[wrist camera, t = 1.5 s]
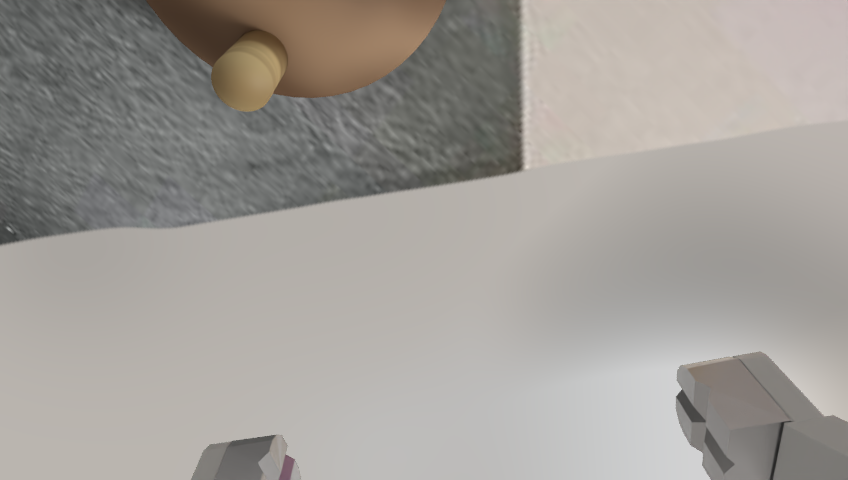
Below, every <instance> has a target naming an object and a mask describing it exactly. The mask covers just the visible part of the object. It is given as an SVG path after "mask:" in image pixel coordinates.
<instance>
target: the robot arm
mask: <svg viewBox="0 0 848 480" xmlns="http://www.w3.org/2000/svg"><path fill="white" fill-rule="evenodd" d="M677 381H678V383H679V385H680V386H681V388H682V390H681V392H680V393H679V394H678V395H677V396H676V411H677V415H678V419H679V423H680V426H681V428H682V430H683V432H684V434H685V436H686V438H687V440H688V442H689V443H690V445H691V446H693V447H695V448H696V449H698V450H699V451H701V452H703V463H702V465H703V467H704V469H705V470H706V472H707V474H708V475H709V477H710V479H711V480H848V422H847V421H844V420H842V419H840V418H838V417H836V416H834V415H832V416H824V415H823V414H822V413H821V412H820V411H819V410H818V409H817V408H816V407H815V406H814V405H813V404H812V403H811V402H810V400H808V398H807V397H806V396H805V395H804V394H803V393H802V392H801V391H800V390H799V389H798V388H797V387H796V386H795V385H794V384H793V382H792V381H791V380H790V379H789V378H788V377H787V376H786V375H785V374H784V373H783V372H782V371H781V370H780V369H779V367H778V366H777V365H776V364H775V363H774V362H773V361H772V360H771V359H770V358H769V357H768V356H767V355H766V354H764V353H762V352H756V353H750V354H743V355H738V356H733V357H726V358H720V359H714V360H709V361H703V362H698V363H692V364H687V365H681V366H680V367H679V369H678V371H677ZM286 450H287V443H286V442H285V440H284V438H283V436H282V435H271V436H265V437H257V438H251V439H244V440H236V441H232V442H225V443H219V444H211V445H209V446H208V447H207V448H206V449H205V450H204V451H203V453H202V456H201V458H200V460H199V463H198V465H197V467H196V470H195V472H194V474H193V476H192V479H191V480H301V476H300V472H299V467H298V465H297V463H296V461H295V459H293V458H291V457H289V456H287V455H286Z"/></svg>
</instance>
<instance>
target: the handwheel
mask: <svg viewBox="0 0 848 480" xmlns="http://www.w3.org/2000/svg"><path fill="white" fill-rule="evenodd" d="M147 2H148V4H149V5H150V6H151V8H152V9H153V10H154V11H155V13H156V14H157V15H158V17H159V18H160V19H161V21H162V22H163V23H164V24H165V25H166V26H167V28H168V29H169V30H170V31H171V32H172V33H173V34H174V35H175V36H176V37H177V38H178V39H179V40H180V41H181V42H182V43H183V44H184V45H185V46H186V47H187V48H189V49H190V50H191V51H192V52H193V53H194V54H196V55H197V56H198V57H199V58H201V59H202V60H203V61H205V62H206V63H208V64H209V65H211V66H212V67H213V69H212V74H211V80H212V85H213V88H214V90H215V92H216V94H217V95H218V97H219V98H220V99H221V100H222V101H223V102H224V103H225V104H227V105H228V106H230V107H232V108H234V109H236V110H240V111H255V110H258V109H260V108H262V107H263V106H264V105H265V104H266V103H267V102H268V101H269V99H270V97H271V96H272V94H278V95H284V96H291V97H307V98H316V97H326V96H334V95H339V94H343V93H347V92H351V91H354V90H356V89H359V88H362V87H364V86H367V85H369V84H371V83H373V82H375V81H377V80H378V79H380V78H382V77H384V76H386V75H387V74H388V73H390V72H391V71H392V70H394V69H395V68H397V67H398V66H399V65H401V64H402V63H403V62H404V61H405V60H406V59H407V58H408V57H409V56H410V55H411V54H412V53H413V52H414V51H415V50H416V49H417V48H418V46H419V45H420V44H421V43H422V41H423V40H424V39H425V38H426V36H427V35H428V33H429V32H430V30H431V29H432V27H433V25H434V24H435V22H436V20H437V19H438V17H439V15H440V13H441V11H442V8H443V6H444V4H445V2H446V0H147Z"/></svg>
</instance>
